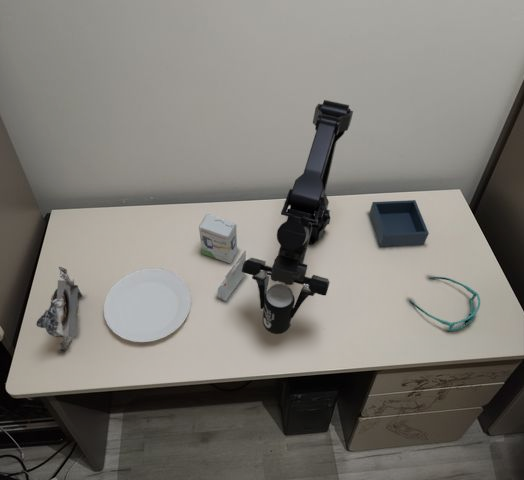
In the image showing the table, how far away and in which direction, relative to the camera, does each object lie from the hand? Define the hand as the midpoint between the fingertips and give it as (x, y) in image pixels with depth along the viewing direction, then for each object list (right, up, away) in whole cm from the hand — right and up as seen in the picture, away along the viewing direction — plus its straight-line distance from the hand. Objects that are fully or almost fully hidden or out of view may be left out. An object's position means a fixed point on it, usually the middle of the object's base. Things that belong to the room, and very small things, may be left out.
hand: (276, 313), depth 107 cm
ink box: (-15, +12, +25) cm, 32 cm away
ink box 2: (-11, +4, +18) cm, 22 cm away
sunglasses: (+43, -1, +17) cm, 46 cm away
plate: (-31, -1, +14) cm, 34 cm away
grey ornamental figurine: (-49, -4, +10) cm, 50 cm away
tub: (+35, +19, +33) cm, 52 cm away
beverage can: (0, -3, +6) cm, 7 cm away
